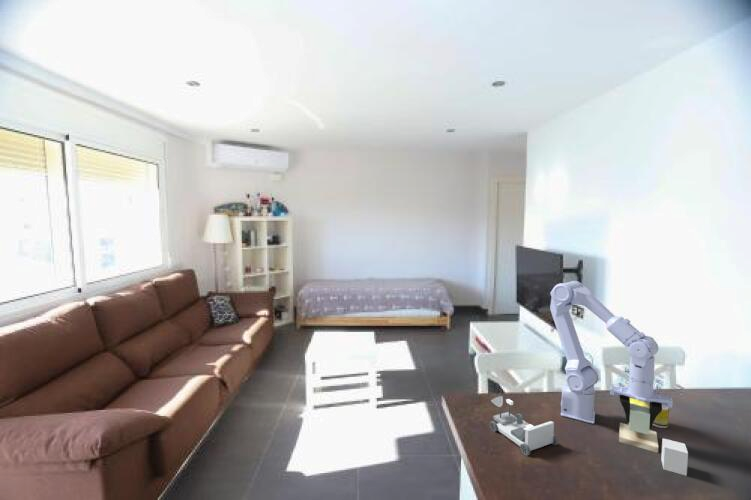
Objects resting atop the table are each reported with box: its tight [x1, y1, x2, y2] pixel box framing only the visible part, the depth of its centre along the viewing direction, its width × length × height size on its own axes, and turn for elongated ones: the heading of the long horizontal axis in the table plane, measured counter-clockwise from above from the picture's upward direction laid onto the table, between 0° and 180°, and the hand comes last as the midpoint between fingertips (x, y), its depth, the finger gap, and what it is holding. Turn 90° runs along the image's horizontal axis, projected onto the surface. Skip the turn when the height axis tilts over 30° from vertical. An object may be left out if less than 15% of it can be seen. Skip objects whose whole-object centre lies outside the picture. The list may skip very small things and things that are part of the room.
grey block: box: [661, 438, 689, 477], centre depth 94 cm, size 5×5×6 cm
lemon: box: [630, 398, 650, 407], centre depth 123 cm, size 4×8×4 cm, turn 21°
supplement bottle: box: [652, 405, 670, 429], centre depth 114 cm, size 5×5×8 cm
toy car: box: [488, 393, 559, 456], centre depth 109 cm, size 18×10×12 cm
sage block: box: [628, 403, 650, 435], centre depth 106 cm, size 5×5×6 cm
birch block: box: [618, 422, 659, 454], centre depth 107 cm, size 9×9×2 cm
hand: (638, 423), depth 106 cm, fingers closed on sage block, 5 cm apart
